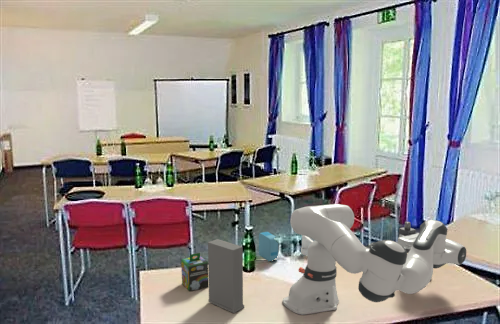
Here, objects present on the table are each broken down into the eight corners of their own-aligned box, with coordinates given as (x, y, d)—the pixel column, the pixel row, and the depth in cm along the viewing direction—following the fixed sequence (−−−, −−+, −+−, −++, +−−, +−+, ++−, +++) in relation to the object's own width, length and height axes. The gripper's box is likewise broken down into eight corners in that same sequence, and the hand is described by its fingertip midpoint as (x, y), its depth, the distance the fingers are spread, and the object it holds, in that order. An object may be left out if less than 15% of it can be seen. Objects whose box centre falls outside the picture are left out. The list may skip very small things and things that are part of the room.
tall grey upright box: (244, 308, 182) (244, 246, 177) (233, 313, 177) (233, 250, 173) (219, 297, 191) (218, 238, 187) (208, 302, 186) (207, 242, 182)
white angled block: (295, 246, 243) (303, 233, 240) (310, 258, 240) (319, 245, 237) (292, 248, 240) (300, 235, 237) (308, 260, 237) (316, 247, 234)
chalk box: (200, 279, 208) (200, 247, 206) (209, 287, 200) (208, 254, 198) (181, 283, 204) (180, 251, 201) (188, 291, 196) (188, 258, 193)
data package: (278, 261, 230) (278, 237, 228) (270, 262, 228) (270, 239, 226) (266, 253, 240) (266, 230, 238) (258, 254, 238) (258, 232, 236)
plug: (406, 253, 206) (407, 224, 204) (397, 249, 211) (399, 221, 209) (414, 251, 209) (416, 223, 207) (406, 247, 213) (407, 220, 211)
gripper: (412, 255, 193) (387, 245, 205) (446, 247, 203) (421, 238, 215) (413, 240, 192) (388, 231, 204) (447, 233, 201) (421, 224, 214)
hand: (405, 234), depth 209 cm, fingers closed on plug, 5 cm apart
